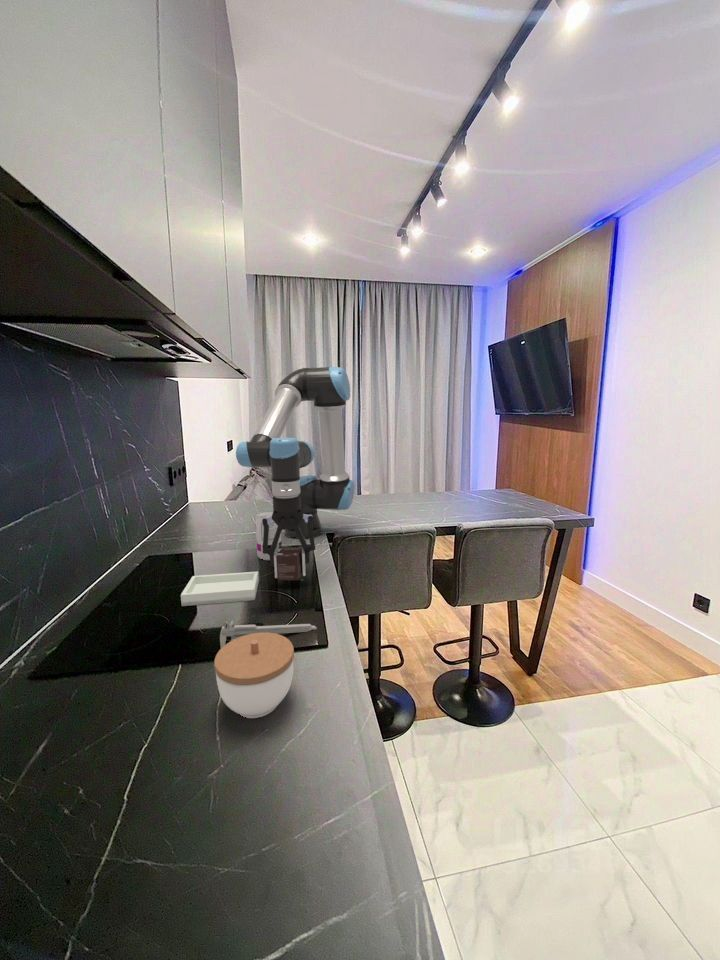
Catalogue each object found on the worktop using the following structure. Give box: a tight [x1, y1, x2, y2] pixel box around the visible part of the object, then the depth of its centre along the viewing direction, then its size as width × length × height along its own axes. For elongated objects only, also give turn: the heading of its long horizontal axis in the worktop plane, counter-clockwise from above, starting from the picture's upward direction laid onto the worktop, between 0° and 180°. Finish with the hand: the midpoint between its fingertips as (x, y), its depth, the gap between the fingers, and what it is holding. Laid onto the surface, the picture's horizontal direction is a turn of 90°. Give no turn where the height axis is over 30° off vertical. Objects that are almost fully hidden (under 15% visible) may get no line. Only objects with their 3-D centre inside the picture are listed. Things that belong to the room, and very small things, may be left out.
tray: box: [180, 571, 260, 607], centre depth 106 cm, size 12×18×3 cm, turn 100°
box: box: [276, 547, 303, 581], centre depth 110 cm, size 6×6×7 cm
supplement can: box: [255, 510, 283, 561], centre depth 132 cm, size 8×8×15 cm
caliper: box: [219, 620, 317, 649], centre depth 84 cm, size 20×1×6 cm, turn 114°
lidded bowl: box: [213, 632, 295, 719], centre depth 65 cm, size 13×13×11 cm
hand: (290, 574), depth 110 cm, fingers closed on box, 7 cm apart
